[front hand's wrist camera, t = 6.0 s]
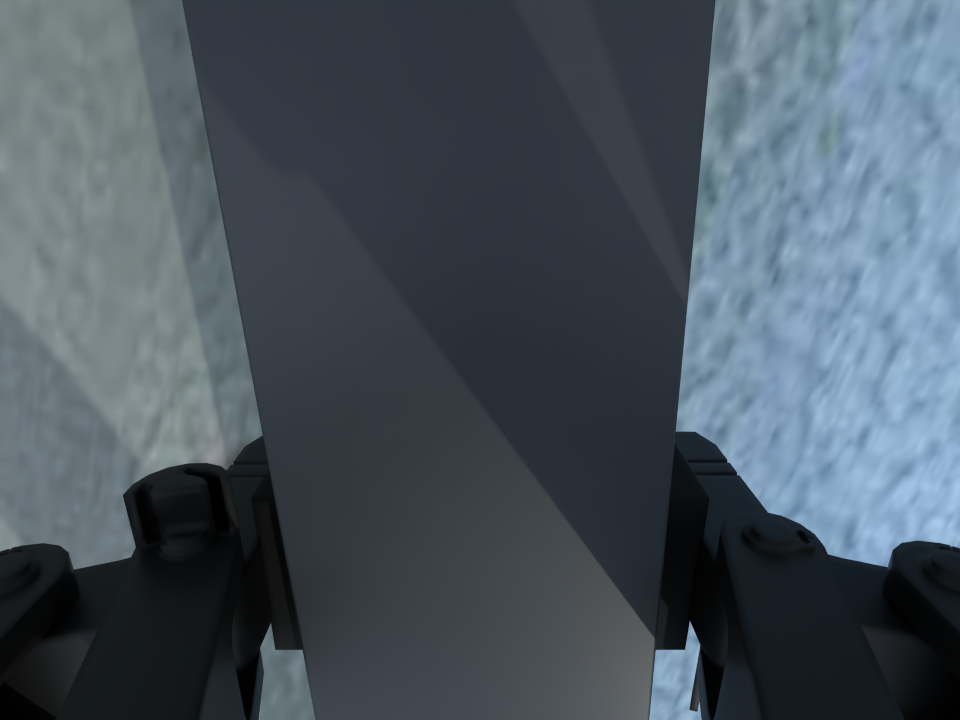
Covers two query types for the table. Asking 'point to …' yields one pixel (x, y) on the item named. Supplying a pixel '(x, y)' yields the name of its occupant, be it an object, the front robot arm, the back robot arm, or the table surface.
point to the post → (464, 332)
